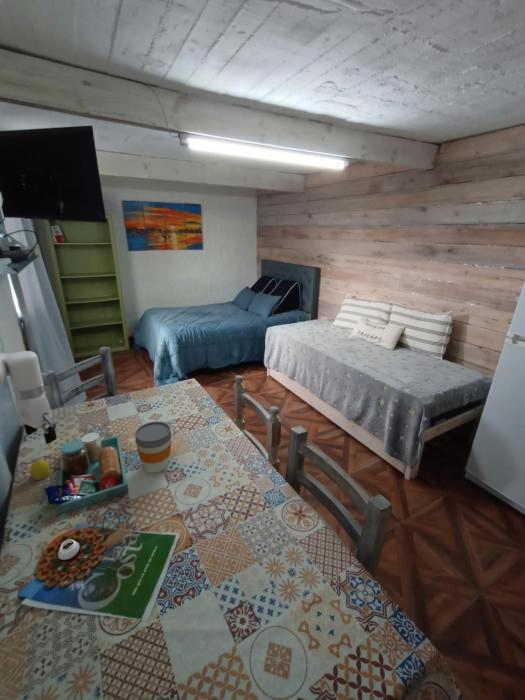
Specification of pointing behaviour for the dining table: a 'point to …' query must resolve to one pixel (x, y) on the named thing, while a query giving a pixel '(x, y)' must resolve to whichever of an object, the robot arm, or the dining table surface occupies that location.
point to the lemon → (39, 470)
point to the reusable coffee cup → (154, 445)
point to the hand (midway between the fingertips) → (41, 437)
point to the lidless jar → (68, 550)
